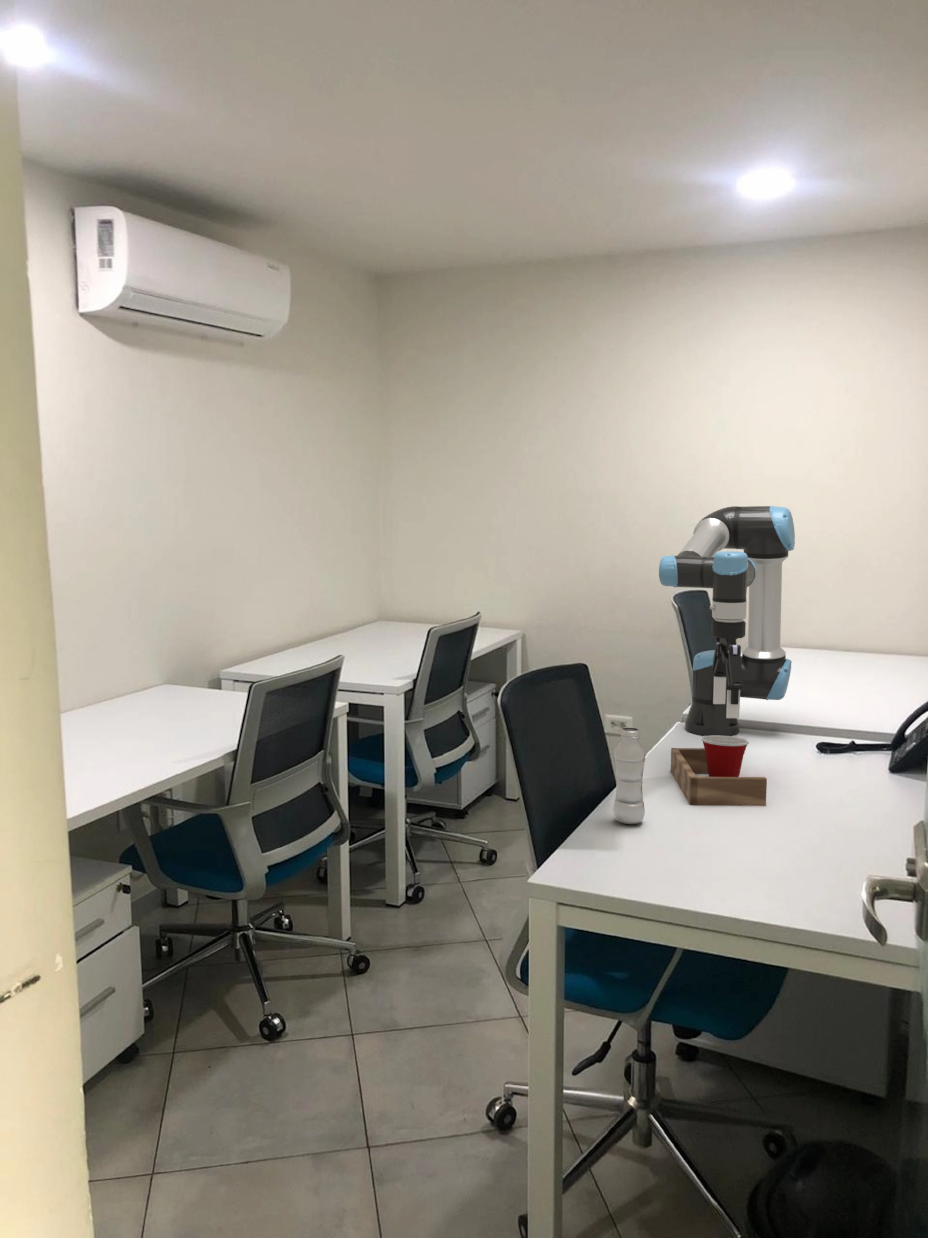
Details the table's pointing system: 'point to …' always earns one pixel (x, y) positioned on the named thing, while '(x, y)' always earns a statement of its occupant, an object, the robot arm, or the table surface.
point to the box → (713, 782)
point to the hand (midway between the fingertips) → (725, 710)
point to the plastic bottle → (629, 778)
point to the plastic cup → (724, 755)
